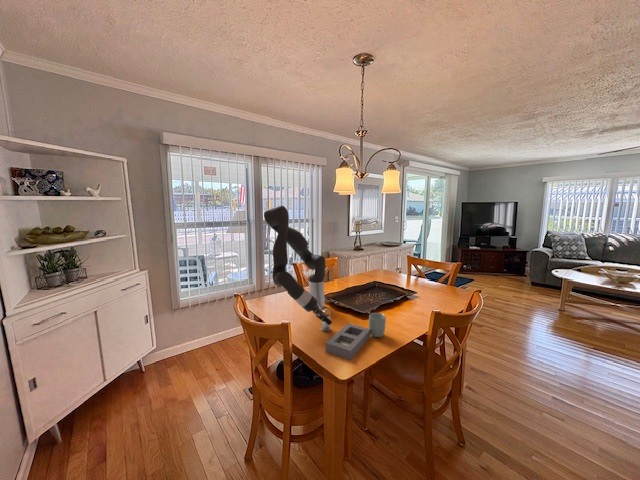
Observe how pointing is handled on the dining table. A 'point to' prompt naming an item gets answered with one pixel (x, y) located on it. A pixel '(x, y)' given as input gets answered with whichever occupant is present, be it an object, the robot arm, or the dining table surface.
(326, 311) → the glass bottle
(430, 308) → the dining table surface
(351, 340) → the rack
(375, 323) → the cup
